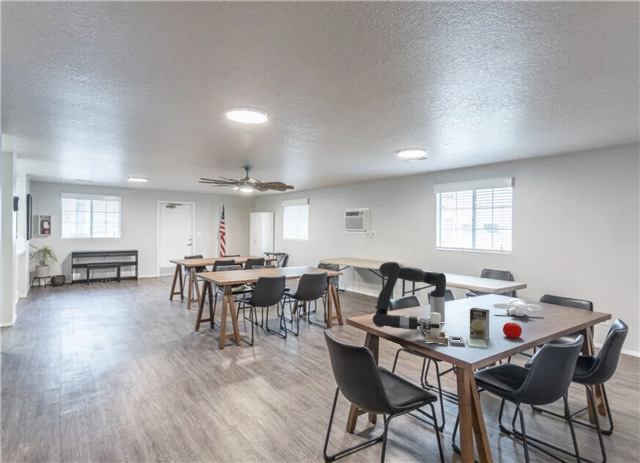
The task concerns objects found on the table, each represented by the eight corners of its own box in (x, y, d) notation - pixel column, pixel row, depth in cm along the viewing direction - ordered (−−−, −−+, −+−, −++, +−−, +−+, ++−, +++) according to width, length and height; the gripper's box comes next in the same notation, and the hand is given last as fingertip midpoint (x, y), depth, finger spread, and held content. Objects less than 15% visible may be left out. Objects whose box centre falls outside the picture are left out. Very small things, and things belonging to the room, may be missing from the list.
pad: (466, 340, 193) (466, 338, 193) (484, 341, 190) (484, 340, 190) (468, 346, 182) (468, 345, 182) (487, 348, 179) (487, 346, 179)
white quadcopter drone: (490, 313, 255) (490, 298, 255) (511, 308, 271) (511, 294, 271) (525, 321, 234) (526, 304, 234) (546, 315, 251) (546, 300, 251)
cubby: (426, 336, 200) (426, 330, 200) (446, 338, 196) (446, 332, 196) (425, 343, 188) (425, 336, 188) (447, 345, 184) (447, 338, 184)
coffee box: (469, 337, 198) (469, 309, 198) (473, 334, 203) (472, 307, 203) (486, 340, 192) (486, 311, 192) (489, 337, 197) (489, 309, 197)
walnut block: (423, 332, 209) (423, 322, 209) (430, 332, 209) (430, 322, 209) (425, 334, 205) (425, 324, 205) (432, 334, 204) (432, 324, 204)
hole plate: (449, 338, 196) (449, 335, 196) (462, 339, 194) (462, 336, 194) (450, 345, 184) (450, 342, 184) (464, 346, 182) (464, 343, 182)
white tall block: (430, 338, 196) (429, 312, 196) (440, 339, 194) (440, 312, 194) (430, 341, 190) (429, 314, 191) (440, 342, 189) (440, 314, 189)
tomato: (500, 337, 197) (500, 322, 198) (506, 333, 205) (506, 319, 205) (518, 341, 191) (518, 325, 191) (524, 337, 198) (524, 322, 198)
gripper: (407, 318, 190) (439, 320, 185) (409, 313, 203) (438, 314, 199) (407, 332, 190) (439, 335, 185) (409, 325, 203) (439, 328, 198)
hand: (439, 324), depth 192 cm, fingers open, 7 cm apart
